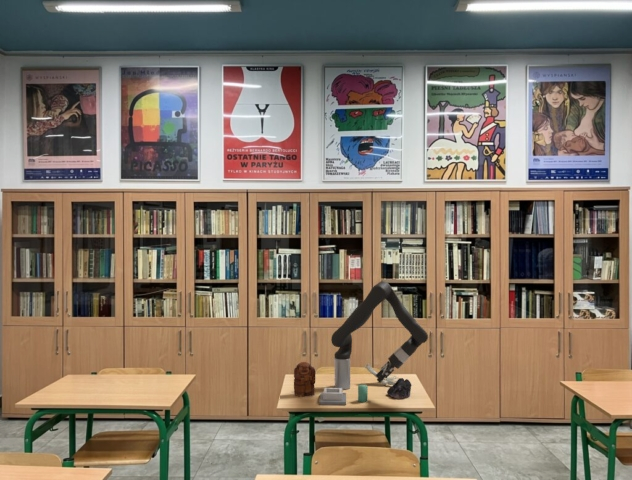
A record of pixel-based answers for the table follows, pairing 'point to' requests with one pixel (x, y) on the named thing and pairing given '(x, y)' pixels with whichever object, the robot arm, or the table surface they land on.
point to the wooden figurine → (304, 379)
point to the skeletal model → (383, 379)
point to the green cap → (362, 393)
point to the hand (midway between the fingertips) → (377, 379)
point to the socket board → (332, 397)
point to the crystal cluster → (400, 389)
